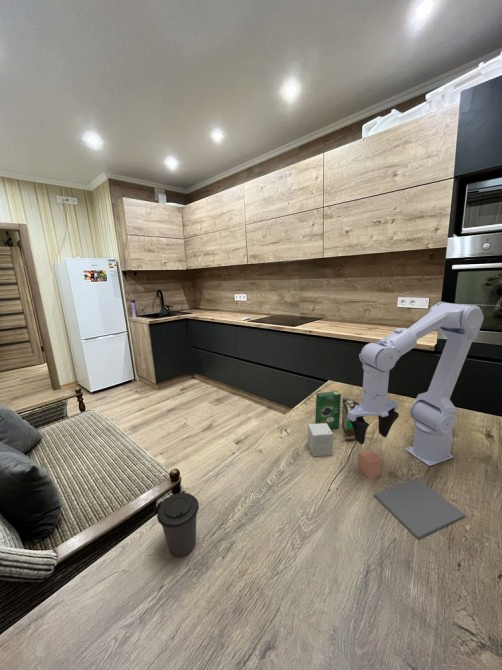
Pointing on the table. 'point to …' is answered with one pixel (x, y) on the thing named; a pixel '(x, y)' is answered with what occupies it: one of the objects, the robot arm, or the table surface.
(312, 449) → the product box
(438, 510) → the mat
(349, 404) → the food container
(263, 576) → the table surface
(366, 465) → the block
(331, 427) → the coffee box
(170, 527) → the coffee cup
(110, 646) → the table surface
